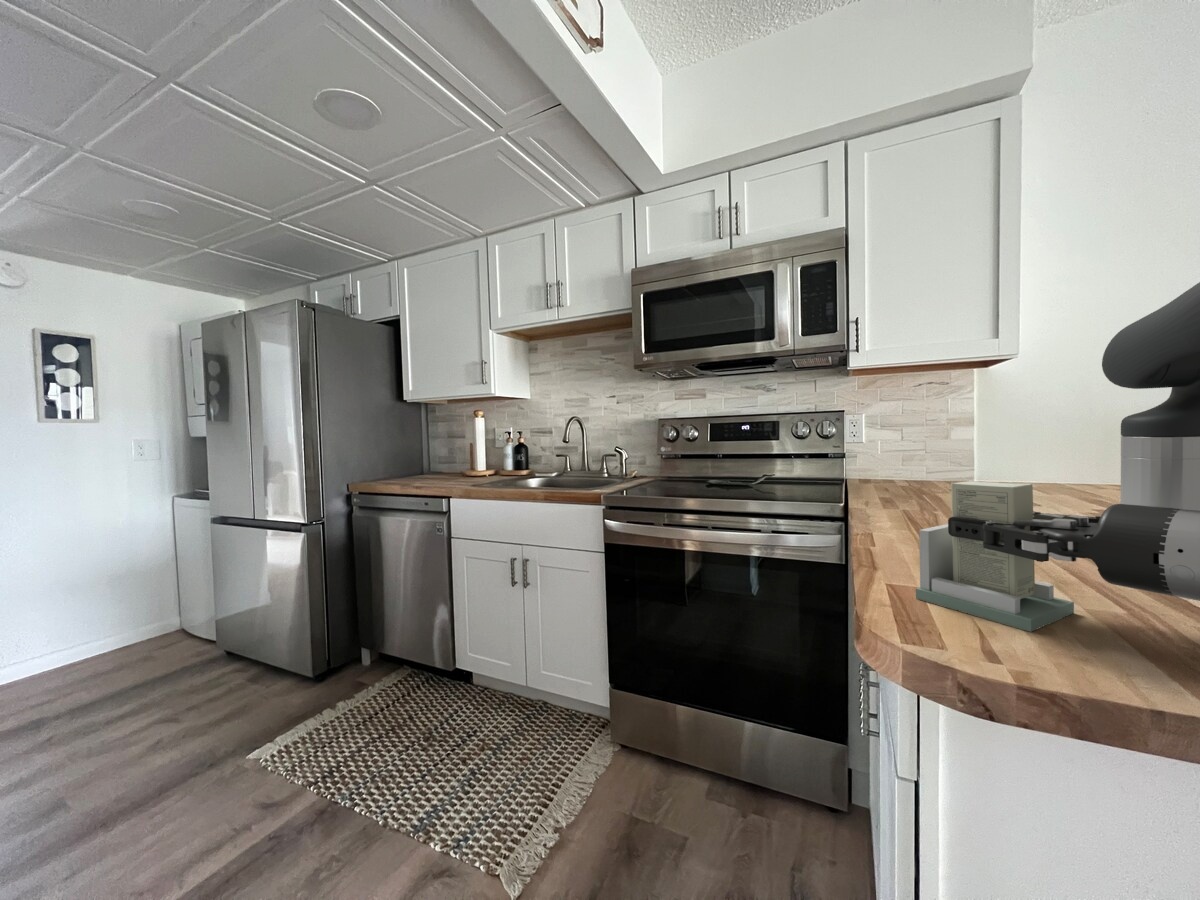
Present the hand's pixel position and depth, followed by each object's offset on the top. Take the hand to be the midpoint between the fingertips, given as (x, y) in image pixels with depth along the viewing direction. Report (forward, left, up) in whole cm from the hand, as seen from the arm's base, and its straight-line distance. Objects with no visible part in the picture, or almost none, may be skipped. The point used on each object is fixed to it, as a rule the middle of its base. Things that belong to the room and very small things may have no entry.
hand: (963, 523), depth 56 cm
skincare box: (0, +3, -7) cm, 8 cm away
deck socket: (0, +3, -9) cm, 9 cm away
